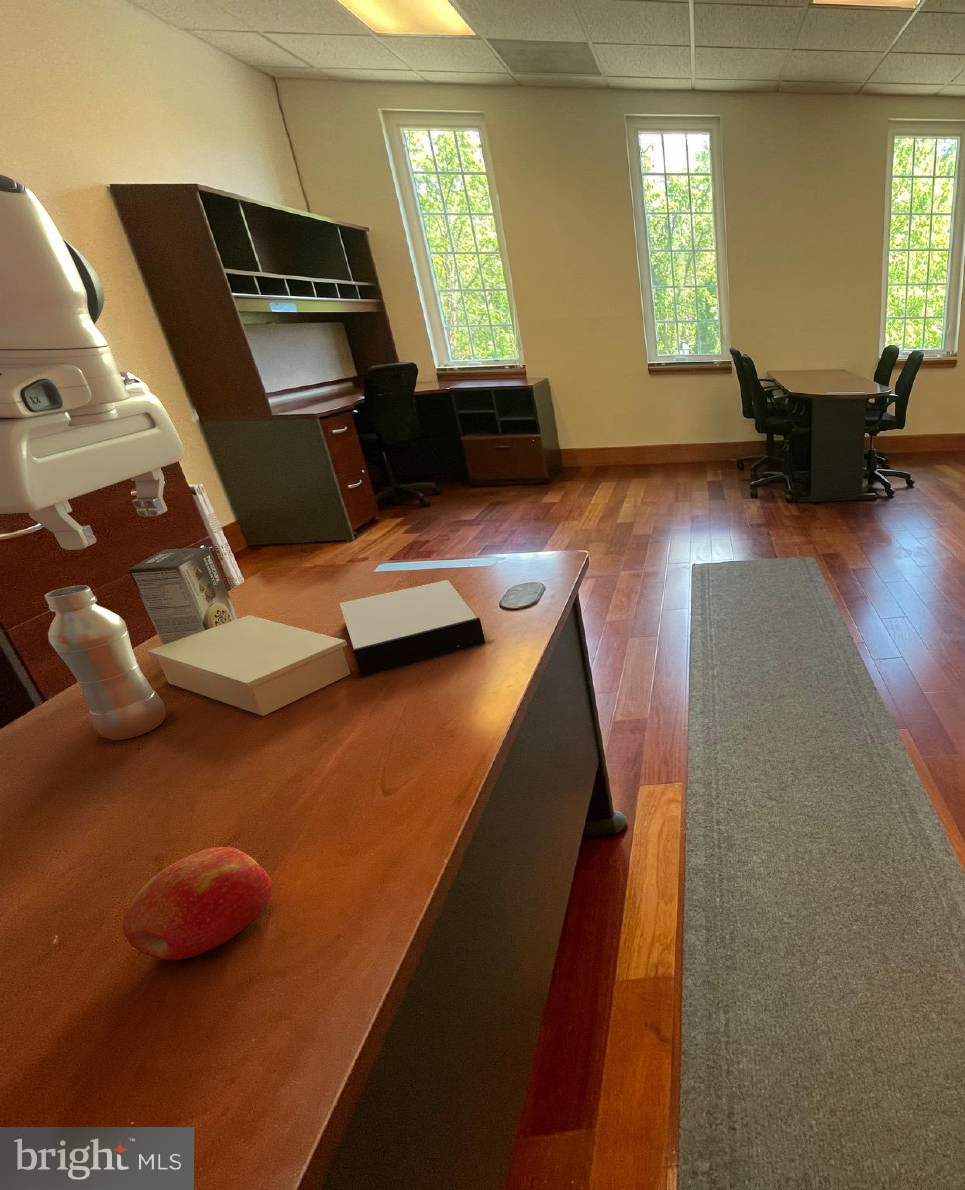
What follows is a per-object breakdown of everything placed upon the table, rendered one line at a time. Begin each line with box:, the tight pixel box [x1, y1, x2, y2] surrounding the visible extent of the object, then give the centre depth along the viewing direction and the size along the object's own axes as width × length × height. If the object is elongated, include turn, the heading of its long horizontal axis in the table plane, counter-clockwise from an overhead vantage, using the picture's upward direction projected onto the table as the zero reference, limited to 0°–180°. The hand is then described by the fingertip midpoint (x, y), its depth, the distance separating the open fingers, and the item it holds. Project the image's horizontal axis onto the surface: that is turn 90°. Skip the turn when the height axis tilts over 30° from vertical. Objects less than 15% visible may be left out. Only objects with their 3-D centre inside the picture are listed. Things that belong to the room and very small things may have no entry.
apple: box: [122, 846, 273, 961], centre depth 52 cm, size 8×8×8 cm
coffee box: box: [127, 546, 239, 645], centre depth 97 cm, size 9×6×16 cm
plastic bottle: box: [44, 584, 167, 741], centre depth 76 cm, size 6×7×20 cm
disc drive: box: [339, 579, 486, 678], centre depth 104 cm, size 18×22×5 cm
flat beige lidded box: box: [147, 614, 351, 717], centre depth 90 cm, size 23×13×6 cm, turn 68°
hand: (119, 529), depth 60 cm, fingers open, 8 cm apart
